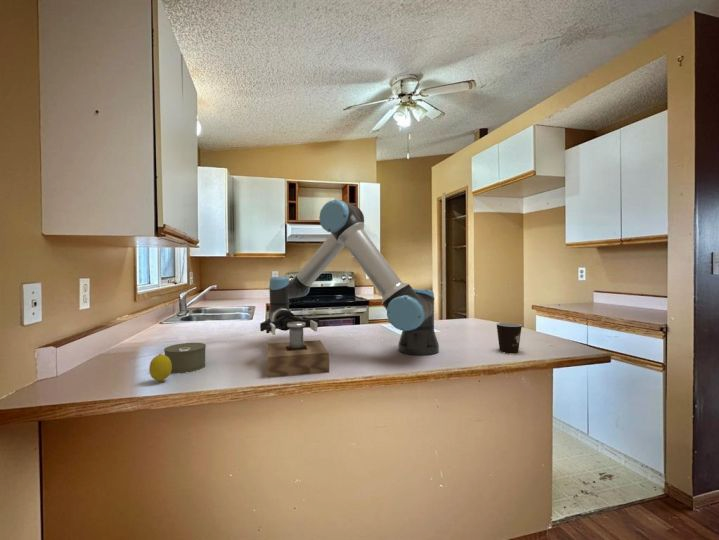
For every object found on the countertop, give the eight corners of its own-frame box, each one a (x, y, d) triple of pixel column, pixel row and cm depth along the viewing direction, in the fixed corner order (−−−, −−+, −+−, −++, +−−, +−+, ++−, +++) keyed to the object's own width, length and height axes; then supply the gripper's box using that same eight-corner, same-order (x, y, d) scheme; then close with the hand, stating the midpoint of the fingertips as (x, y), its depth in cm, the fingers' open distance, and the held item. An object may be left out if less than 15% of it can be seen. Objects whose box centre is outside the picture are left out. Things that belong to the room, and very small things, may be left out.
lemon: (148, 381, 101) (148, 353, 101) (170, 377, 104) (170, 350, 104) (150, 386, 96) (150, 357, 96) (173, 382, 100) (172, 354, 99)
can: (207, 361, 121) (206, 341, 121) (205, 371, 110) (204, 349, 110) (167, 365, 117) (167, 344, 117) (161, 376, 106) (160, 353, 106)
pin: (308, 364, 116) (308, 322, 116) (301, 369, 111) (300, 325, 111) (292, 363, 118) (292, 321, 118) (284, 368, 112) (283, 324, 112)
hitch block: (320, 357, 125) (320, 340, 125) (329, 372, 108) (328, 352, 108) (267, 361, 121) (267, 343, 121) (268, 377, 103) (267, 357, 103)
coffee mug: (506, 355, 126) (506, 327, 126) (491, 349, 135) (491, 323, 134) (534, 352, 129) (534, 325, 129) (518, 347, 137) (518, 321, 137)
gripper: (315, 326, 138) (332, 337, 119) (249, 331, 129) (255, 344, 109) (315, 307, 138) (332, 314, 119) (249, 311, 129) (255, 319, 109)
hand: (295, 329), depth 114 cm, fingers open, 13 cm apart
